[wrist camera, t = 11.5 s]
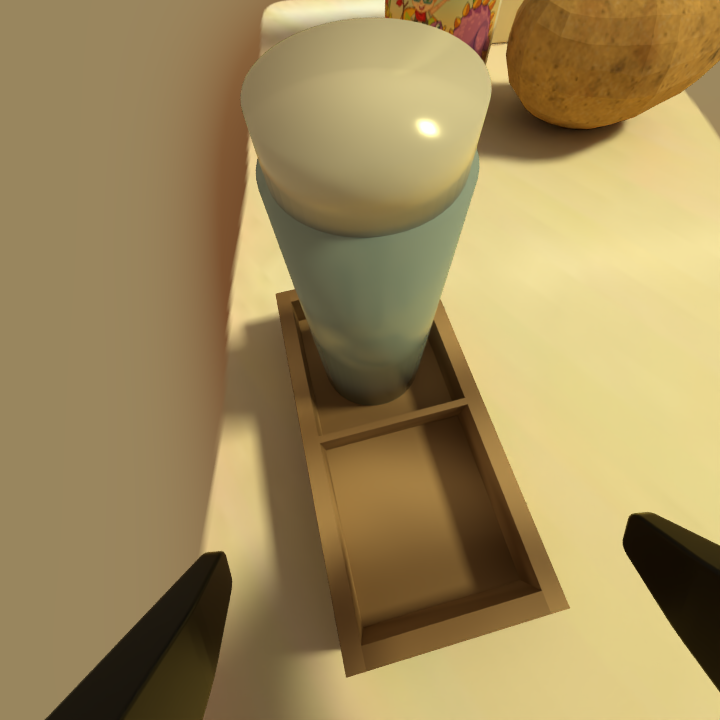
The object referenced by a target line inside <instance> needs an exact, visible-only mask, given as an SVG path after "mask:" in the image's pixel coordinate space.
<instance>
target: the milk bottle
mask: <svg viewBox="0 0 720 720" xmlns="http://www.w3.org/2000/svg"><path fill="white" fill-rule="evenodd" d="M501 2H502V0H385V18H393V19H401V20H408V21H413V22H418V23H422V24H426V25H429V26H432V27H436V28H438V29H440V30H443V31H445V32H448V33H450V34H451V35H453V36H455V37H457V38H459V39H460V40H462V41H463V42H465V43H466V44H467V45H469V46H470V47H471V48H472V49H473V50H474V51H475V52H476V53H477V54H478V55H479V56H480V58H481V59H482V60H483V62H484V64H485V65H486V62H487V58H488V54H489V50H490V46H491V42H492V38H493V34H494V30H495V26H496V22H497V18H498V14H499V10H500V6H501Z"/></svg>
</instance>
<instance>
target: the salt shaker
mask: <svg viewBox="0 0 720 720" xmlns="http://www.w3.org/2000/svg"><path fill="white" fill-rule="evenodd" d="M491 91H492V87H491V78H490V75H489V72H488V69H487V67H486V65H485V64H484V62H483V60H482V59H481V58H480V56H479V55H478V54H477V53H476V52H475V51H474V50H473V49H472V48H471V47H470V46H469V45H467V44H466V43H465V42H463V41H462V40H460V39H459V38H457V37H455V36H453V35H451V34H450V33H448V32H445V31H443V30H440V29H438V28H436V27H432V26H429V25H426V24H422V23H418V22H413V21H408V20H401V19H393V18H357V19H348V20H340V21H335V22H330V23H326V24H322V25H319V26H315V27H312V28H309V29H306V30H304V31H301V32H299V33H296V34H294V35H292V36H290V37H288V38H286V39H284V40H283V41H281V42H279V43H277V44H276V45H275V46H273V47H272V48H270V49H269V50H268V51H266V52H265V53H264V54H263V55H262V56H261V57H260V58H259V59H258V60H257V61H256V62H255V63H254V65H253V66H252V67H251V69H250V70H249V72H248V73H247V75H246V77H245V80H244V82H243V85H242V89H241V108H242V112H243V115H244V118H245V121H246V124H247V127H248V130H249V133H250V136H251V139H252V142H253V145H254V148H255V151H256V154H257V157H258V159H257V165H256V181H257V185H258V189H259V192H260V195H261V197H262V200H263V203H264V205H265V208H266V211H267V214H268V216H269V219H270V222H271V225H272V227H273V230H274V233H275V235H276V238H277V241H278V244H279V246H280V249H281V252H282V255H283V257H284V260H285V263H286V265H287V268H288V271H289V274H290V276H291V279H292V282H293V285H294V287H295V290H296V293H297V295H298V298H299V301H300V304H301V306H302V309H303V312H304V315H305V317H306V320H307V323H308V326H309V328H310V331H311V334H312V336H313V339H314V342H315V345H316V347H317V350H318V353H319V356H320V358H321V361H322V364H323V366H324V369H325V372H326V375H327V377H328V379H329V382H330V383H331V385H332V386H333V388H334V389H335V390H336V391H337V392H338V393H339V394H340V395H341V396H343V397H344V398H346V399H347V400H349V401H351V402H354V403H357V404H361V405H368V406H374V405H382V404H386V403H389V402H391V401H393V400H395V399H397V398H399V397H400V396H401V395H403V394H404V393H405V392H406V391H407V390H408V389H409V387H410V386H411V385H412V383H413V381H414V379H415V377H416V374H417V371H418V368H419V364H420V361H421V358H422V355H423V352H424V348H425V345H426V342H427V339H428V336H429V332H430V329H431V326H432V323H433V320H434V316H435V313H436V310H437V307H438V304H439V300H440V297H441V294H442V291H443V288H444V285H445V281H446V278H447V275H448V272H449V269H450V265H451V262H452V259H453V256H454V253H455V249H456V246H457V243H458V240H459V237H460V233H461V230H462V227H463V224H464V221H465V217H466V214H467V211H468V208H469V205H470V201H471V198H472V195H473V192H474V189H475V185H476V182H477V179H478V173H479V156H478V152H477V145H478V141H479V137H480V134H481V130H482V127H483V123H484V120H485V116H486V113H487V109H488V106H489V102H490V97H491Z"/></svg>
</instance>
